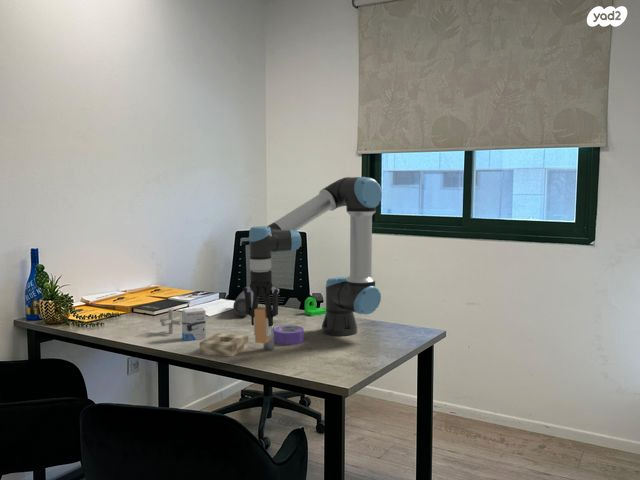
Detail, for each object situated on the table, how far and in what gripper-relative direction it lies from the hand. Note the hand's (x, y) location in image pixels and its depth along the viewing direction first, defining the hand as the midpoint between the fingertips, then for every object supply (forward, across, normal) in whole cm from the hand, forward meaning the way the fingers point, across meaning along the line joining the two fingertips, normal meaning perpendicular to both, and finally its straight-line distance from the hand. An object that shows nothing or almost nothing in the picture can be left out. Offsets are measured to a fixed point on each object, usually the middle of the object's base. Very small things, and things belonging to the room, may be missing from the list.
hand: (262, 334), depth 207 cm
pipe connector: (+8, +48, -17) cm, 52 cm away
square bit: (+3, 0, 0) cm, 3 cm away
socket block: (+8, +17, -3) cm, 19 cm away
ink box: (+8, +36, -13) cm, 39 cm away
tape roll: (+9, -1, -23) cm, 24 cm away
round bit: (+8, +2, -9) cm, 12 cm away
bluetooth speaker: (+9, +36, -62) cm, 72 cm away
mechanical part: (+10, +2, -72) cm, 73 cm away
